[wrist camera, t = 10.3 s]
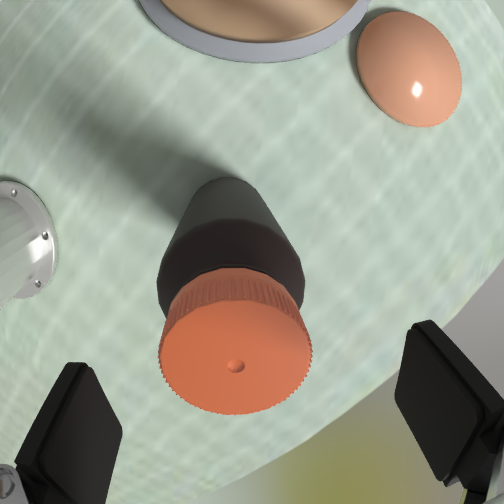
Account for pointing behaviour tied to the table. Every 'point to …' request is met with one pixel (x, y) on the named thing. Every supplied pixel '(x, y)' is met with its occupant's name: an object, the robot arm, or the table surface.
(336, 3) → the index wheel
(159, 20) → the wheel base
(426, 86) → the peach dome
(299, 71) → the table surface
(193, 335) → the vinegar
